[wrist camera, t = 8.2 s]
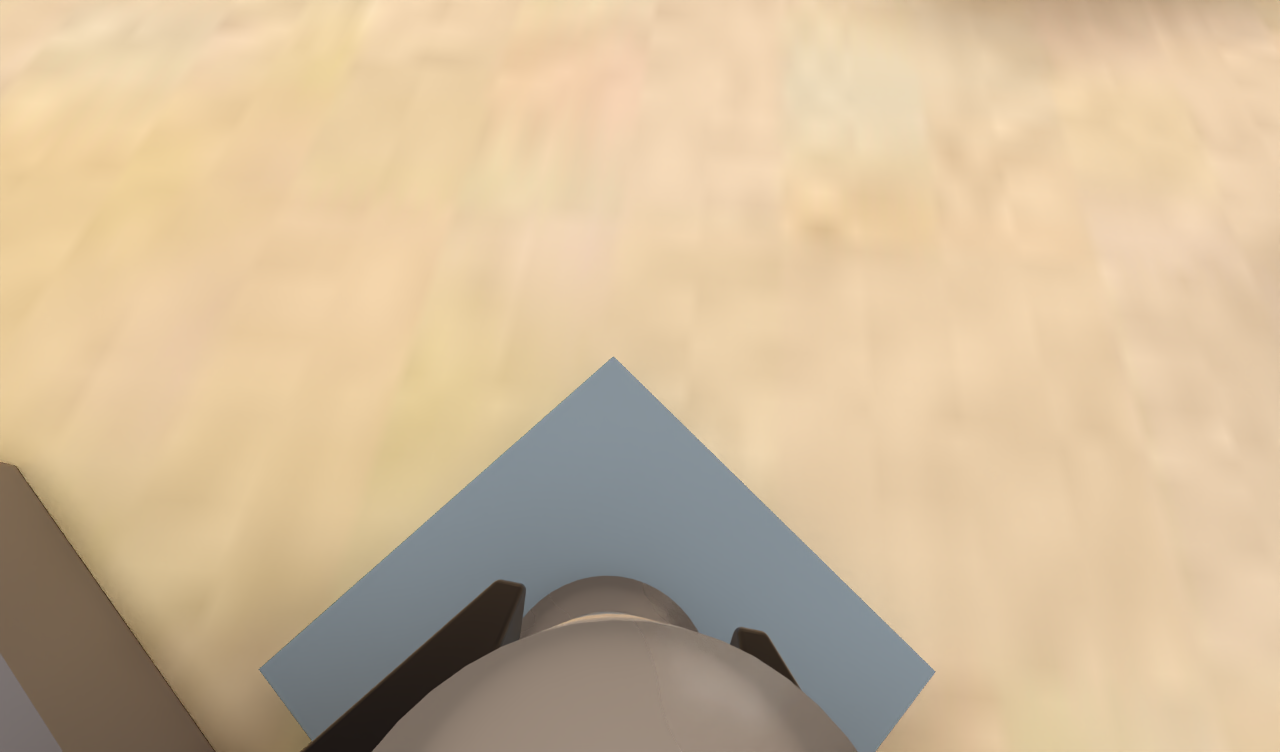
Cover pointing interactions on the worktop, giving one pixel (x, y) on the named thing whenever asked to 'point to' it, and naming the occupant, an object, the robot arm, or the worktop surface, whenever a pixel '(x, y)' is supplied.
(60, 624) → the socket block
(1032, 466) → the worktop surface
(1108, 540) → the worktop surface
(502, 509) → the mat
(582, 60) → the worktop surface
